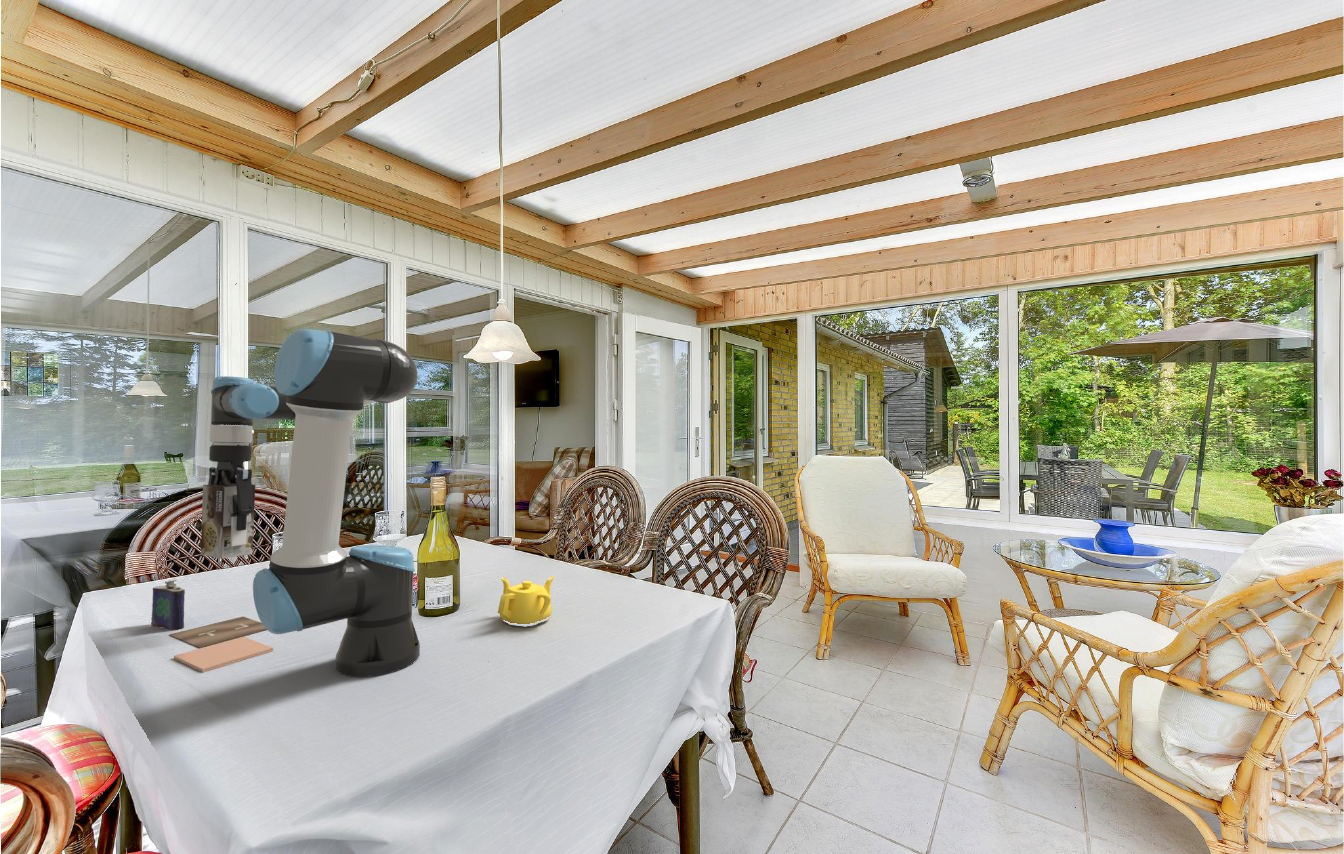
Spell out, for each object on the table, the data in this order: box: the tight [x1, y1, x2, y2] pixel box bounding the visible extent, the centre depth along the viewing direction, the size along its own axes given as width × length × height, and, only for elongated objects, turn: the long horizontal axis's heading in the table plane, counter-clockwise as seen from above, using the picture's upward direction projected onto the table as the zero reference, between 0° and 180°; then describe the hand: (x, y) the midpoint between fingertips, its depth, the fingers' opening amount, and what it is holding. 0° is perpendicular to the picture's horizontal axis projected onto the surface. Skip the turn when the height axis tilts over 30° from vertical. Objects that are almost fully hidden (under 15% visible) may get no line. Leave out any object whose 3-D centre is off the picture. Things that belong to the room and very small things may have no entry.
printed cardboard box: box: [200, 483, 256, 560], centre depth 123 cm, size 9×6×16 cm
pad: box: [173, 636, 274, 673], centre depth 110 cm, size 12×12×1 cm
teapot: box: [497, 575, 556, 624], centre depth 135 cm, size 14×13×10 cm
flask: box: [150, 579, 186, 631], centre depth 125 cm, size 9×3×11 cm, turn 71°
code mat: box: [169, 616, 268, 649], centre depth 122 cm, size 14×14×1 cm
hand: (227, 542), depth 123 cm, fingers closed on printed cardboard box, 9 cm apart
